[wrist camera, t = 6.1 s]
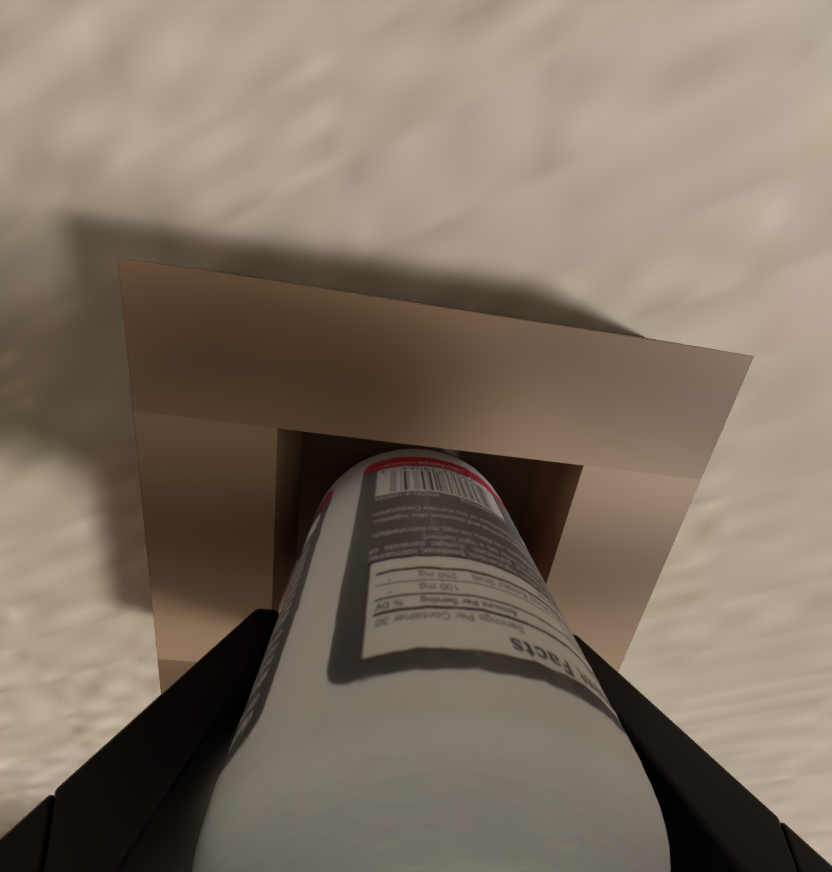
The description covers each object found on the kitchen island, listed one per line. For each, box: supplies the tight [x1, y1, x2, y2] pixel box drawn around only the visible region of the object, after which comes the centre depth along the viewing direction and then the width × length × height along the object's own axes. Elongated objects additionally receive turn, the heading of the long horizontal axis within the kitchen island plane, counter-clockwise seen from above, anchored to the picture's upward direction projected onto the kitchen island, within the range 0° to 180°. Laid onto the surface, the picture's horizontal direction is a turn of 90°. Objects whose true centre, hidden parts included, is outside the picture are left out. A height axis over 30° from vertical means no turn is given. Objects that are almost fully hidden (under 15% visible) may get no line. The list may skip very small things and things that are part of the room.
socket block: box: [118, 258, 754, 694], centre depth 11 cm, size 12×12×4 cm
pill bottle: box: [192, 449, 671, 872], centre depth 6 cm, size 5×5×10 cm
